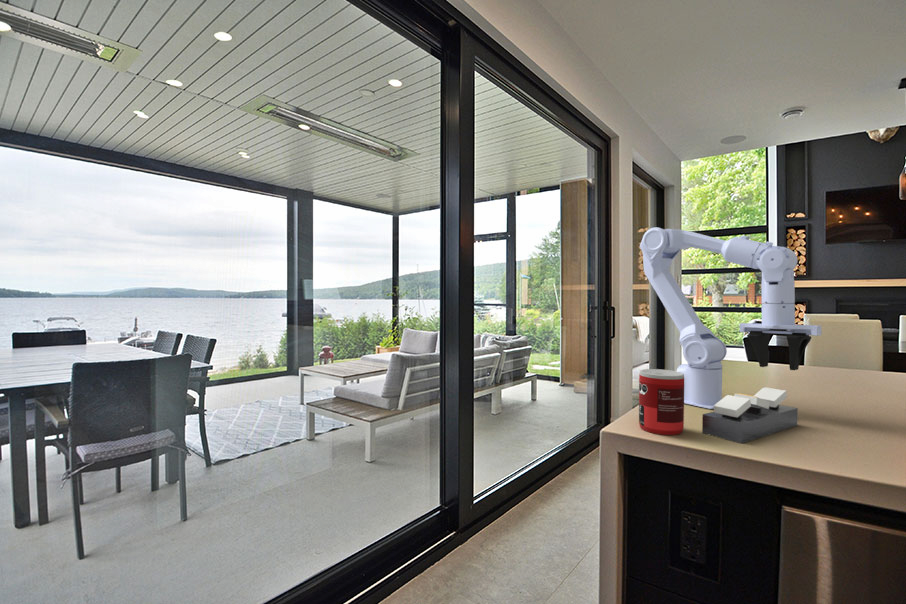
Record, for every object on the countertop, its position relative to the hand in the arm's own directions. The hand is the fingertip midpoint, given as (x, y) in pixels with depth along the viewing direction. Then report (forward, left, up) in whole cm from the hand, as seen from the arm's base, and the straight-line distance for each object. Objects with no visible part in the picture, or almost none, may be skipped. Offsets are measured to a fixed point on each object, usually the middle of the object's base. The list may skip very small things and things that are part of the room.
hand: (778, 368), depth 97 cm
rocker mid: (+1, -14, -5) cm, 15 cm away
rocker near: (+1, -21, -5) cm, 22 cm away
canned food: (-8, -29, -11) cm, 32 cm away
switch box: (+1, -11, -10) cm, 15 cm away
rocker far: (+1, -7, -5) cm, 9 cm away
